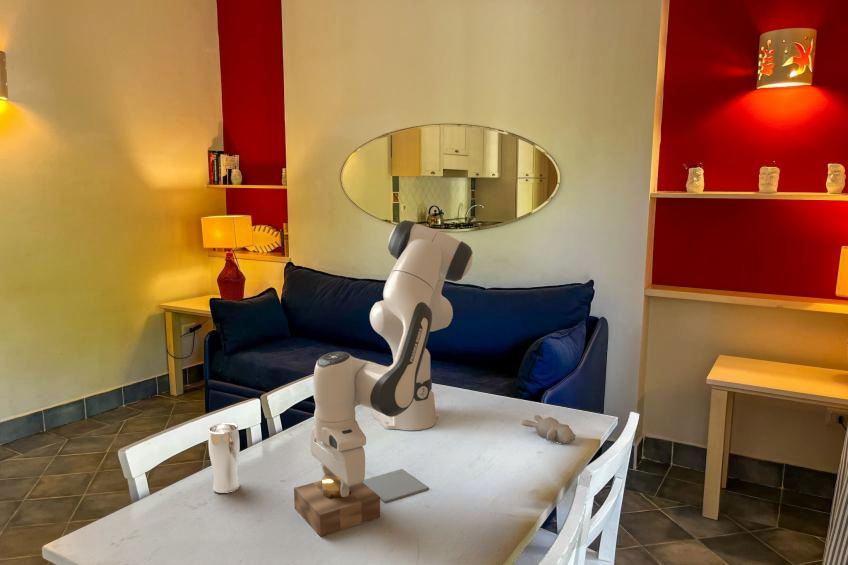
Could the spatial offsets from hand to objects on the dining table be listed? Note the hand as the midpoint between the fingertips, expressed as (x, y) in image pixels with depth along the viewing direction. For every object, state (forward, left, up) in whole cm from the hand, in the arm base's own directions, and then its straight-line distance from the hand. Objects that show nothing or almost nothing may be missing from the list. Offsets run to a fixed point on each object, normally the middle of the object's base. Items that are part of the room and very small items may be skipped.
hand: (336, 488), depth 136 cm
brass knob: (0, 0, -6) cm, 6 cm away
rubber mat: (-4, +17, -6) cm, 18 cm away
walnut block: (0, 0, -6) cm, 6 cm away
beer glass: (-25, -17, -6) cm, 31 cm away
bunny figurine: (-6, +70, -6) cm, 70 cm away
